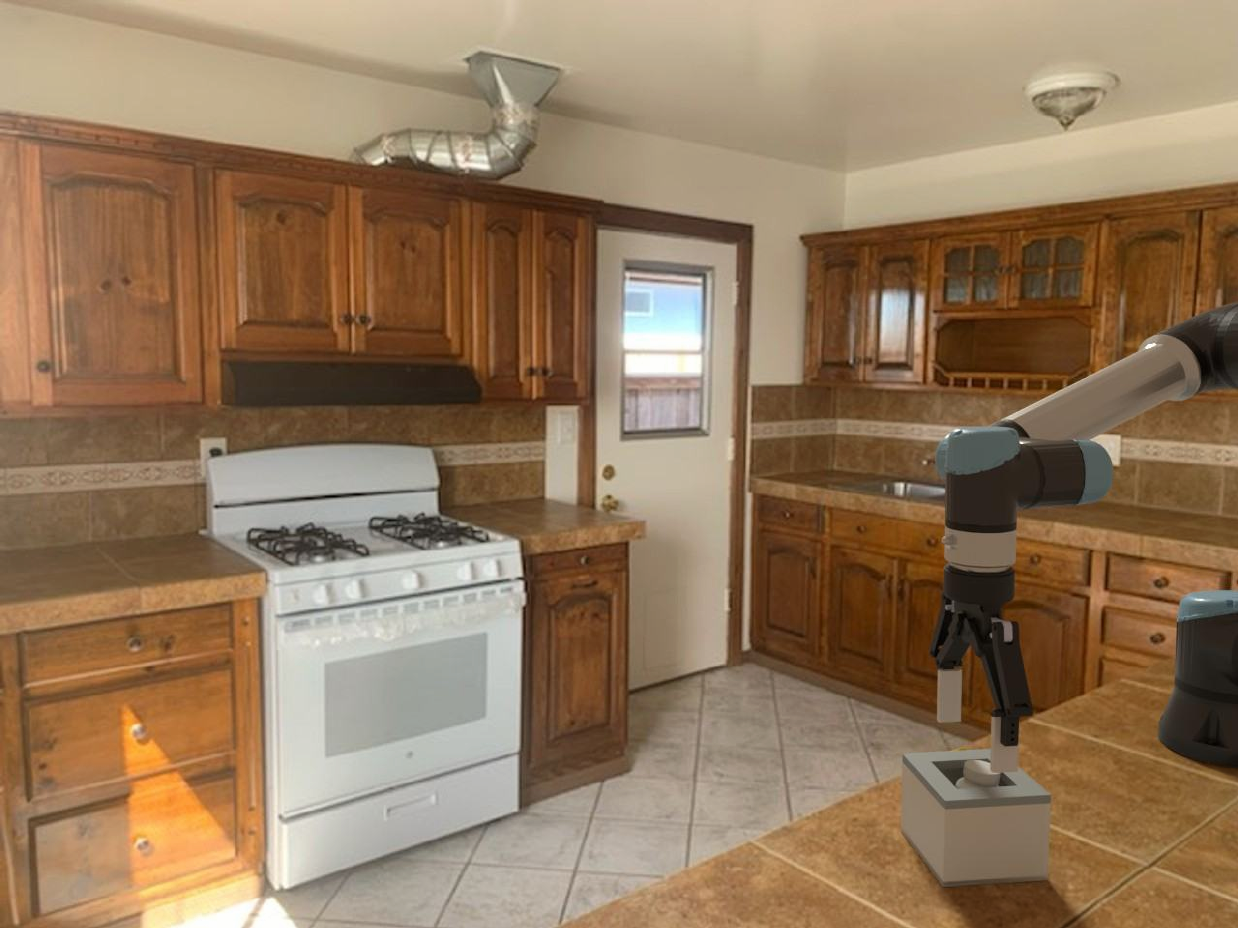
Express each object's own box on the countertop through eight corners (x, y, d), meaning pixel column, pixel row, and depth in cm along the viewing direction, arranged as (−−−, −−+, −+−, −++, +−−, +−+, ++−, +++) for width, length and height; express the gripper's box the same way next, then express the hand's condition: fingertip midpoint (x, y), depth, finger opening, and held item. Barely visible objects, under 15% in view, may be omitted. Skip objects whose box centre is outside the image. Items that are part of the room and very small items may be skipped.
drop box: (995, 825, 114) (997, 748, 113) (1047, 879, 102) (1050, 794, 101) (901, 831, 113) (902, 753, 112) (943, 886, 101) (945, 800, 100)
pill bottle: (972, 861, 104) (983, 779, 103) (938, 838, 109) (948, 759, 108) (1007, 854, 106) (1018, 774, 105) (972, 832, 111) (982, 755, 110)
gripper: (903, 543, 116) (901, 705, 118) (1001, 594, 91) (995, 797, 93) (961, 540, 116) (957, 702, 119) (1074, 591, 91) (1066, 793, 94)
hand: (974, 744), depth 106 cm, fingers open, 13 cm apart
